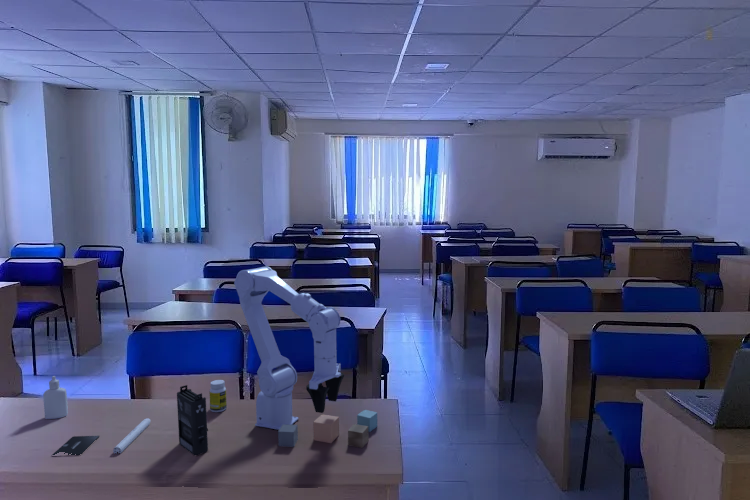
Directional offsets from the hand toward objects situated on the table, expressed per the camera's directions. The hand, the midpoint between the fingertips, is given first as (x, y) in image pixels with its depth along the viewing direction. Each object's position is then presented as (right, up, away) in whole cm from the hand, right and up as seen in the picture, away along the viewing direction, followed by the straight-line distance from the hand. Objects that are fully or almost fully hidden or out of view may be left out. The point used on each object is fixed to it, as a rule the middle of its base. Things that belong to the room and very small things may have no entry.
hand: (326, 406), depth 135 cm
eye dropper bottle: (-79, -8, +15) cm, 81 cm away
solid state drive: (-63, -10, -3) cm, 64 cm away
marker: (-51, -9, +2) cm, 52 cm away
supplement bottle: (-34, -7, +19) cm, 39 cm away
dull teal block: (+11, -8, +7) cm, 15 cm away
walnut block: (+8, -9, -2) cm, 12 cm away
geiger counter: (-33, -9, -4) cm, 34 cm away
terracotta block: (0, -9, +1) cm, 9 cm away
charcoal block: (-10, -9, -2) cm, 13 cm away
